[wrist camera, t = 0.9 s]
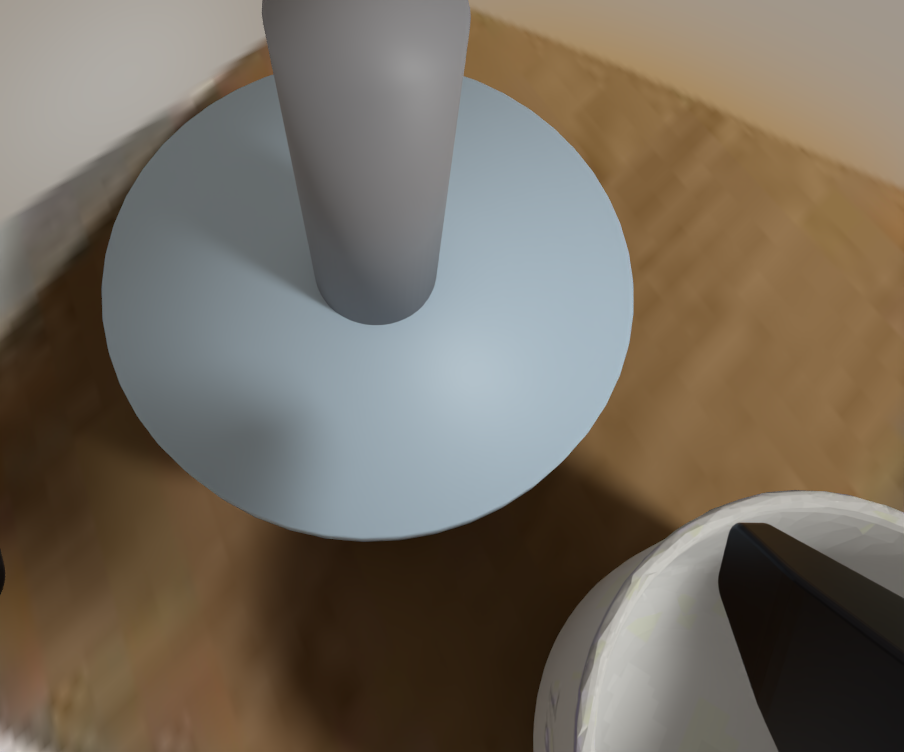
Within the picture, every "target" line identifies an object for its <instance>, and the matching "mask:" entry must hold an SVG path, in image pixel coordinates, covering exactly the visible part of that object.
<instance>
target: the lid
mask: <svg viewBox="0 0 904 752" xmlns="http://www.w3.org/2000/svg"><path fill="white" fill-rule="evenodd" d="M262 17H263V25H264V29H265V34H266V39H267V44H268V49H269V54H270V59H271V64H272V69H273V74H274V75H271V76H268V77H265V78H262V79H260V80H258V81H255V82H253V83H251V84H249V85H246V86H244V87H242V88H239V89H237V90H235V91H233V92H232V93H230V94H228V95H226V96H225V97H223V98H221V99H220V100H218V101H216V102H214V103H213V104H211V105H209V106H208V107H207V108H205V109H204V110H203V111H201V112H200V113H199V114H197V115H196V116H194V117H193V118H192V119H190V120H189V121H188V122H186V123H185V124H184V125H183V126H182V127H181V128H180V129H179V130H178V131H177V132H176V133H175V134H173V135H172V136H171V137H170V138H169V139H168V140H167V141H166V142H165V143H164V144H163V145H162V146H161V147H160V149H159V150H158V151H157V152H156V154H155V155H154V156H153V157H152V158H151V160H150V161H149V162H148V163H147V165H146V166H145V167H144V168H143V170H142V171H141V173H140V174H139V176H138V178H137V179H136V181H135V183H134V184H133V186H132V188H131V189H130V191H129V192H128V194H127V196H126V198H125V200H124V202H123V205H122V207H121V209H120V212H119V214H118V216H117V219H116V221H115V223H114V226H113V229H112V233H111V237H110V240H109V244H108V248H107V251H106V255H105V263H104V271H103V280H102V316H103V325H104V330H105V335H106V341H107V346H108V351H109V355H110V358H111V360H112V363H113V366H114V369H115V372H116V375H117V377H118V380H119V383H120V385H121V387H122V389H123V391H124V393H125V395H126V397H127V399H128V400H129V402H130V404H131V406H132V408H133V410H134V412H135V413H136V415H137V417H138V418H139V419H140V421H141V422H142V423H143V425H144V426H145V427H146V429H147V430H148V431H149V433H150V434H151V435H152V437H153V438H154V439H155V441H156V442H157V443H158V445H159V446H160V447H161V448H162V449H164V450H165V451H166V452H167V453H168V454H169V455H170V456H171V457H172V458H173V459H174V460H175V461H176V462H177V463H178V464H179V465H180V466H181V467H182V468H183V469H184V470H185V471H186V472H187V473H189V474H190V475H191V476H192V477H193V478H195V479H196V480H197V481H199V482H200V483H201V484H203V485H204V486H205V487H207V488H208V489H209V490H211V491H212V492H214V493H215V494H216V495H218V496H219V497H220V498H222V499H223V500H225V501H226V502H228V503H230V504H232V505H234V506H236V507H237V508H239V509H241V510H243V511H245V512H247V513H248V514H250V515H252V516H254V517H256V518H259V519H261V520H264V521H267V522H269V523H272V524H275V525H277V526H280V527H283V528H285V529H288V530H291V531H295V532H300V533H304V534H309V535H313V536H317V537H322V538H326V539H337V540H348V541H359V542H371V541H395V540H404V539H410V538H416V537H421V536H427V535H433V534H437V533H441V532H444V531H447V530H450V529H453V528H456V527H459V526H463V525H466V524H469V523H471V522H474V521H476V520H478V519H480V518H482V517H484V516H486V515H488V514H491V513H493V512H495V511H497V510H499V509H501V508H503V507H505V506H506V505H508V504H509V503H511V502H512V501H514V500H515V499H517V498H518V497H520V496H521V495H523V494H525V493H526V492H528V491H529V490H531V489H532V488H533V487H534V486H535V485H537V484H538V483H539V482H540V481H541V480H542V479H544V478H545V477H546V476H547V475H548V474H549V473H550V472H552V471H553V470H554V469H555V468H556V467H557V466H558V465H559V464H560V463H561V462H562V461H563V460H564V459H565V458H566V457H567V456H568V455H569V454H570V453H571V451H572V450H573V449H574V448H575V447H576V446H577V445H578V443H579V442H580V441H581V440H582V439H583V438H584V437H585V435H586V434H587V433H588V432H589V430H590V429H591V427H592V426H593V424H594V423H595V421H596V420H597V418H598V416H599V415H600V413H601V412H602V410H603V409H604V407H605V406H606V404H607V402H608V400H609V398H610V395H611V393H612V391H613V389H614V387H615V385H616V382H617V380H618V378H619V376H620V373H621V370H622V366H623V363H624V359H625V356H626V353H627V349H628V346H629V341H630V333H631V326H632V319H633V278H632V271H631V265H630V258H629V252H628V249H627V245H626V242H625V238H624V235H623V231H622V228H621V225H620V222H619V220H618V218H617V216H616V213H615V211H614V209H613V206H612V204H611V202H610V200H609V197H608V196H607V194H606V193H605V191H604V189H603V188H602V186H601V184H600V183H599V181H598V179H597V178H596V176H595V174H594V173H593V171H592V170H591V169H590V168H589V166H588V165H587V164H586V163H585V161H584V160H583V159H582V157H581V156H580V155H579V154H578V152H577V151H576V150H575V149H574V148H573V147H572V146H571V145H570V144H569V143H568V142H567V141H566V140H565V139H564V138H563V137H562V136H561V135H560V134H559V133H558V132H557V131H556V130H555V129H554V128H553V127H552V126H550V125H549V124H548V123H546V122H545V121H544V120H543V119H541V118H540V117H539V116H538V115H536V114H535V113H534V112H532V111H531V110H530V109H528V108H527V107H525V106H523V105H522V104H520V103H518V102H517V101H515V100H514V99H512V98H510V97H509V96H507V95H505V94H504V93H502V92H499V91H497V90H495V89H493V88H491V87H489V86H487V85H485V84H482V83H480V82H478V81H476V80H473V79H470V78H467V77H464V76H463V74H464V67H465V59H466V52H467V44H468V37H469V30H470V19H471V16H470V6H469V2H468V0H263V1H262Z"/></svg>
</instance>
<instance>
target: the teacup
mask: <svg viewBox="0 0 904 752" xmlns="http://www.w3.org/2000/svg"><path fill="white" fill-rule="evenodd" d="M741 522H743V523H767V524H770V525H772V526H773V527H775V528H777V529H779V530H781V531H783V532H784V533H786V534H788V535H790V536H792V537H794V538H795V539H797V540H799V541H801V542H803V543H804V544H806V545H808V546H810V547H812V548H814V549H815V550H817V551H819V552H821V553H823V554H825V555H826V556H828V557H830V558H832V559H834V560H836V561H837V562H839V563H841V564H843V565H845V566H846V567H848V568H850V569H852V570H854V571H856V572H857V573H859V574H861V575H863V576H865V577H867V578H868V579H870V580H872V581H874V582H876V583H878V584H879V585H881V586H883V587H885V588H887V589H888V590H890V591H892V592H894V593H896V594H898V595H899V596H901V597H903V598H904V513H903V512H901V511H898V510H896V509H894V508H891V507H889V506H886V505H882V504H878V503H874V502H871V501H867V500H864V499H860V498H857V497H854V496H850V495H845V494H838V493H832V492H824V491H801V490H791V491H778V492H767V493H762V494H758V495H754V496H751V497H747V498H743V499H739V500H737V501H734V502H731V503H728V504H725V505H723V506H720V507H717V508H714V509H711V510H709V511H708V512H706V513H705V514H703V515H701V516H700V517H698V518H696V519H694V520H692V521H690V522H688V523H687V524H685V525H683V526H682V527H680V528H678V529H677V530H676V531H674V532H673V533H672V534H670V535H669V536H668V537H667V538H665V539H664V540H662V541H660V542H658V543H657V544H655V545H653V546H651V547H649V548H647V549H646V550H644V551H642V552H640V553H638V554H636V555H635V556H633V557H632V558H630V559H628V560H627V561H625V562H624V563H622V564H621V565H620V566H618V567H617V568H616V569H614V570H613V571H612V572H611V573H609V574H608V575H607V576H606V577H604V578H603V579H602V580H601V581H599V582H598V583H597V584H596V585H595V586H594V587H593V588H592V589H591V590H590V591H589V592H588V594H587V595H586V596H585V597H584V598H583V599H582V601H581V602H580V603H579V604H578V605H577V607H576V608H575V609H574V611H573V612H572V614H571V615H570V616H569V618H568V619H567V621H566V623H565V624H564V626H563V628H562V629H561V631H560V633H559V634H558V636H557V638H556V641H555V643H554V645H553V647H552V649H551V651H550V654H549V657H548V659H547V662H546V665H545V668H544V672H543V676H542V679H541V683H540V687H539V691H538V695H537V702H536V710H535V718H534V731H533V752H778V750H777V747H776V745H775V743H774V741H773V739H772V736H771V734H770V732H769V730H768V728H767V726H766V723H765V721H764V719H763V717H762V714H761V712H760V710H759V707H758V705H757V702H756V700H755V697H754V694H753V692H752V689H751V686H750V683H749V680H748V677H747V674H746V671H745V668H744V666H743V663H742V660H741V657H740V654H739V651H738V648H737V645H736V642H735V639H734V636H733V633H732V630H731V627H730V624H729V621H728V618H727V615H726V612H725V609H724V606H723V603H722V600H721V597H720V594H719V588H718V575H719V570H720V566H721V562H722V558H723V554H724V550H725V546H726V542H727V538H728V534H729V531H730V529H731V528H732V526H733V525H735V524H736V523H741Z"/></svg>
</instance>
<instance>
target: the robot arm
mask: <svg viewBox="0 0 904 752" xmlns="http://www.w3.org/2000/svg"><path fill="white" fill-rule="evenodd" d="M4 582H5V567H4V563H3V559H2V554H1V550H0V595H1V592H2V590H3V586H4ZM718 588H719V594H720V597H721V600H722V603H723V606H724V609H725V612H726V615H727V618H728V621H729V624H730V627H731V630H732V633H733V636H734V639H735V642H736V645H737V648H738V651H739V654H740V657H741V660H742V663H743V666H744V668H745V671H746V674H747V677H748V680H749V683H750V686H751V689H752V692H753V694H754V697H755V700H756V702H757V705H758V707H759V710H760V712H761V714H762V717H763V719H764V721H765V723H766V726H767V728H768V730H769V732H770V734H771V736H772V739H773V741H774V743H775V745H776V747H777V750H778V752H904V598H903V597H901V596H899V595H898V594H896V593H894V592H892V591H890V590H888V589H887V588H885V587H883V586H881V585H879V584H878V583H876V582H874V581H872V580H870V579H868V578H867V577H865V576H863V575H861V574H859V573H857V572H856V571H854V570H852V569H850V568H848V567H846V566H845V565H843V564H841V563H839V562H837V561H836V560H834V559H832V558H830V557H828V556H826V555H825V554H823V553H821V552H819V551H817V550H815V549H814V548H812V547H810V546H808V545H806V544H804V543H803V542H801V541H799V540H797V539H795V538H794V537H792V536H790V535H788V534H786V533H784V532H783V531H781V530H779V529H777V528H775V527H773V526H772V525H770V524H767V523H743V522H741V523H736V524H735V525H733V526H732V528H731V529H730V531H729V534H728V538H727V542H726V546H725V550H724V554H723V558H722V562H721V566H720V570H719V575H718Z"/></svg>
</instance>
